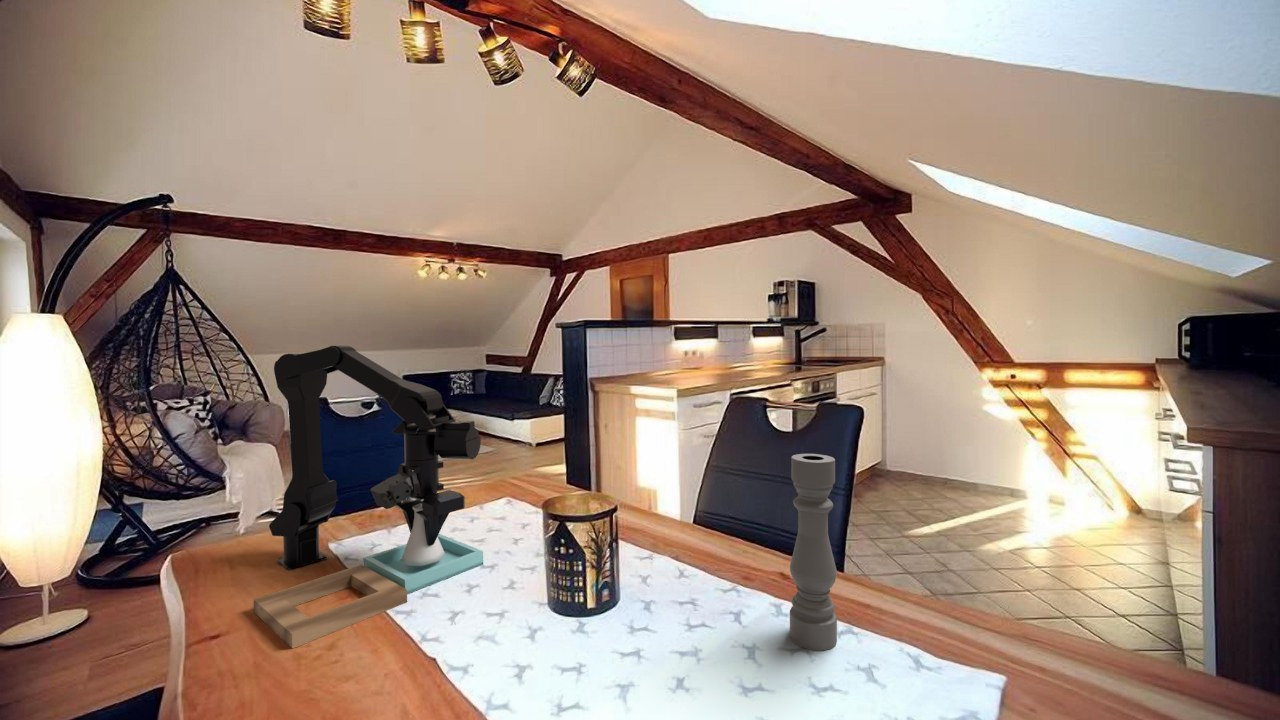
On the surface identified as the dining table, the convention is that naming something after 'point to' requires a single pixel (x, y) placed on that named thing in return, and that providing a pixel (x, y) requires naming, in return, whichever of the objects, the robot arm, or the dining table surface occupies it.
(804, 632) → the candle holder
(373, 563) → the teal tray
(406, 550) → the flask
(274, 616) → the frame
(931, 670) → the dining table surface
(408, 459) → the robot arm
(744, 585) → the dining table surface
